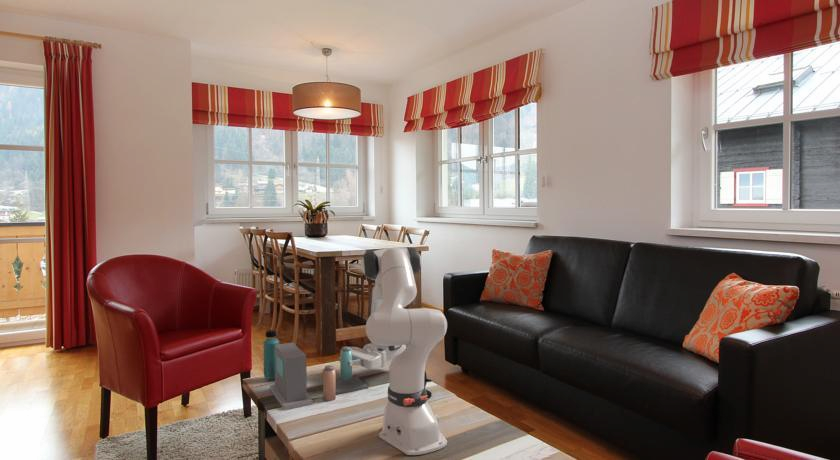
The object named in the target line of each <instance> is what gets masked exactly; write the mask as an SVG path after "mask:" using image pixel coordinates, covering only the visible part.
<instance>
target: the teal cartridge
mask: <svg viewBox="0 0 840 460" xmlns="http://www.w3.org/2000/svg"><path fill="white" fill-rule="evenodd" d="M350 347H351V346H342V347H341V349H340V350H339V351H340V353H339V354H340V355H339V356H340V362H339V363H340V367H339V368H340V376H339V377H340V378H341V379H343V380H349V379H351V378H352V376H353V366H349V365H348V361H350V360H352V349H350Z"/></svg>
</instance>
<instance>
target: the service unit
mask: <svg viewBox="0 0 840 460" xmlns="http://www.w3.org/2000/svg"><path fill="white" fill-rule="evenodd" d="M307 378H308V377H307V354H306V353H304V352H303V351H302V350H301V349H300V348H299V347H298V346H297V345H296V344H295V343H294V342H288V343H287V342H286V343H279V345H275V378H274V384H270V385H269V390H270V391H271V392H272V394H273V396H274V397H275V399H276V400H277V402H278V404H280V406H281V408H282V409H283V411H287V410H292V409H297V408H302V407H307V406H311V405H313V404H314V403H313V399H312V397H310V396H309V394H308V390H307V388H308V387H307V384H308V383H307Z"/></svg>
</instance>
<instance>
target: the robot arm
mask: <svg viewBox="0 0 840 460" xmlns="http://www.w3.org/2000/svg"><path fill="white" fill-rule="evenodd" d="M421 267H422V257H421V254H420V251H419V250H418V249H417V248H416V247H408V246H407V247H388V248H380V249H376V250H367V251H366V252H364V254H363V255H362V258H361V262H360V268H361V271H362V273H363V274H364V276H365V278H367V279H369V280H375V281H374V282H375V283H374V284H373V286H372V288H371V292H370V300H369V310H368V316H367V319H366V324H365V334H366V336H367V338H368V340H369V341H370V343H367V344H365V345H364V346H363V348H360V347H357V346H349V347H350V349H352V360H350V361H348V365H349V366H352V367H353V366H355V367H356V366H360V367H363V368H365V369H367V370H375V369H379V368H386V363H387V362H389V361H390V363H389V367H388V369H389V370H388V371H389V373H388V374H389V375H388V377H389V379H388V380H389V381H388V383H389V385H388V387H387V392H386V393H387V400H388V401H387V404H386V405H385V407H384V410H383V418H382V419H383V420H382V429H381V431H380V432H379V433H378V437H379V439H382V440H383V441H384V442H386V443H388V444H389V445H391V446H393V447H394V448H396V449H397V450H399V451H400V452H402V453H403V454H405V455H407V456H417V455H425V454H430V453H433V452H435V451H438V450H441V449H443V448H445V447H446V446H447V445H448V440H447V439H446V437H445V436H444V434H443V433H442V432H441V431H440V425H439V422H440V416H439V415H438V414H435V413H434V412H433V408H432V407H431V406H430V405H429V403H428V398H427V396H428V395H427V392H426V390H427V389H426V386H424V375H425V371H426V364H427V361H428V358H429V355H430V354H431V351H432V350H433V348H434V347H435V346H436V345H437V344H438V343H439V342H440V341H442V340H443V338H444V337H445V335H446V334H447V329H448V321H447V318H446V316H445V314H444V313H443V312H442V311H441V310H440V309H435V308H428V307H419V308H405V307H406V306H408V305H410V304H411V303H412V302H414V300H415V298H416V297H417V294H418V290H417V284H416V280H415V275H417V274H418V273H419V272H420V271H421ZM338 361H339V363H340V357H339V358H338Z"/></svg>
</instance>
